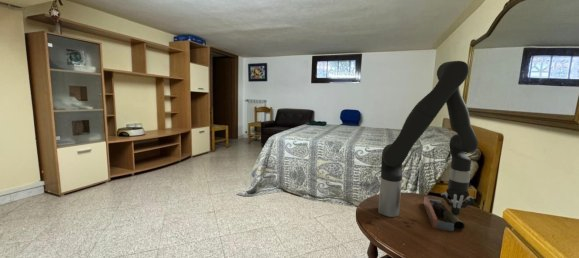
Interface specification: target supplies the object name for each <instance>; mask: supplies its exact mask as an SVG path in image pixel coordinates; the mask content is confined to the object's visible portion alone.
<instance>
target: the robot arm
mask: <svg viewBox="0 0 579 258" xmlns="http://www.w3.org/2000/svg"><path fill="white" fill-rule="evenodd" d="M469 73H470V66H469V64H468V63H467V62H465V61H463V60H452V61H451V60H450V61H446V62H445V61H444V62H443V63H442V64H441V65H439V67H438V68H437V71H436V77H437V81H438V82H437V83H436V85H435V86H434V87H433V89H431V91H429V92H428V94H426V96H424V97H423V98H422V99H420V100H419V101H418V102H417V103H416V105H415V106H414V107H413V108H412V110H411V111H410V113H409V114H408V115H407V117H406V118H405V121H404V122H403V125H402V127H401V130H400V131H399V134H398V136H397V137H396V139H394V140H393V142H392V143H389V144H387V145H385V147H384V148H383V149H382V153H381V162H380V163H381V165H380V183H379V196H378V209H377V210H378V214H381V215H383V216H385V217H390V218H392V217H393V218H394V217H396V218H397V217H398V216H399V215H400V208H401V207H400V206H401V195H402V194H401V193H402V184H403V183H402V182H403V163H404V162H405V160H406V159H407V157H408V155H409V153H410V152H411V150H412V148H413V147H414V145H415V143H416V142H417V141H418V140H419V139H420V138H421V136H422V135H423V134H424V132H425V131H426V130H427V129H428V128H429V126H430V125H431V124H432V122H434V119H436V117H437V116H438V114H439V113H440V111H441V110H442V108H443V107H444V106H445V105H446V107H447V113H448V118H449V124H450V129H451V130H452V131H453V132H454V133H455V134H453V135H452V136H451V138H450V140H449V152H450V157H451V164H450V165H451V166H450V171H449V174H448V185H447V188H446V191H445V192H440V195H441V197H442V198H443V200H444V201H445V202H446V204H448V207H451V210H450V212H451V213H452V214H453V215H455V216H456V217H457V216H458V215H460V210H461V208H463V209H465V208H467V207H469V205H470V204H472V203H474V202H475V198H474V197H472V196H471V195H470V193H469V189H470V181H471V167H472V159H471V158H470V157H469V156H467V154H466V153H468V154H469V153H470V154H471V153H474V152H475V151H476V150H477V149H478V147H479V140H478V138H477V137H478V136H477V134H476V133H475V131H474V129H473V127H472V125H471V118H470V113H469V109H468V107H467V105H466V102H465V100H464V99H463V95H462V93H461V90H460V86H461V85H462V84H464V82H465V81H466V79H468V76H469ZM448 196H449V198H450V199H451V201H450V200H449V198H448Z"/></svg>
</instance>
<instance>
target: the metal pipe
mask: <svg viewBox="0 0 579 258" xmlns="http://www.w3.org/2000/svg"><path fill="white" fill-rule="evenodd" d="M432 208H433V210H434V212H435V214H436V217H437V218H439V219H440V218H441V219H444V220H445V222H450V223H453V224H454V230H456V231H462V230H464V228H465V227H466V226H465V222H463V221H462V220H461V219H460V218H458V217H457V216H455V215H453V214H452V213H451V210H449V209H448V208H447V207H446V205H445V204H443V203H437V202H435V203H434V204H433V206H432Z"/></svg>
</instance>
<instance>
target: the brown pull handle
mask: <svg viewBox="0 0 579 258" xmlns="http://www.w3.org/2000/svg"><path fill="white" fill-rule="evenodd" d="M435 202H437V203H442V200H440V199H431V198H429V197H428V196H424V199H423V205H424V209H425V211H426V213H427V215H428V218H429V219H428V220H429V221H430V224H431V226H432V228H433V229H438V230H444V231H448V232H454V230H455V229H454V224H453V223H450V222H447V221H444V220H438V217H436V214H435V212H434V210H433V204H434V203H435ZM442 204H443V203H442Z"/></svg>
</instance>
